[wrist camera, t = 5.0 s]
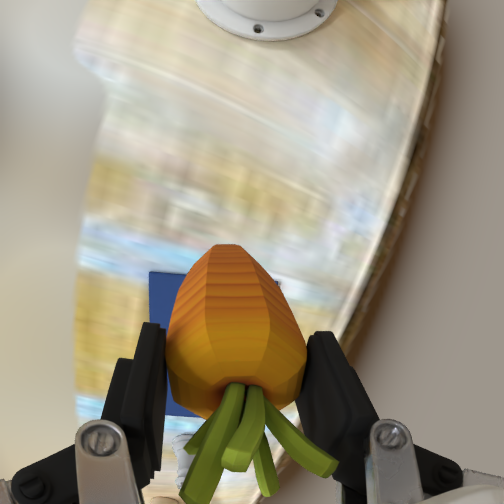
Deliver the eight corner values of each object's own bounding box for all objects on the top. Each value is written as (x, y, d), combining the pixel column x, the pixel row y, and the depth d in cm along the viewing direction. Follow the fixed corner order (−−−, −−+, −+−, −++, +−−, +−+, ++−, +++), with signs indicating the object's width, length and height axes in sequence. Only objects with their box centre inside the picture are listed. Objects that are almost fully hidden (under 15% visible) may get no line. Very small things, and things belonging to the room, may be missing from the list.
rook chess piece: (189, 429, 38) (188, 478, 31) (210, 443, 40) (212, 489, 32) (165, 439, 39) (162, 485, 31) (186, 452, 40) (186, 496, 33)
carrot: (279, 230, 19) (396, 455, 6) (245, 297, 21) (289, 530, 7) (201, 198, 18) (176, 437, 4) (172, 271, 20) (131, 516, 6)
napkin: (149, 271, 29) (148, 273, 29) (277, 281, 31) (278, 283, 30) (156, 412, 36) (156, 414, 36) (250, 416, 38) (250, 418, 38)
